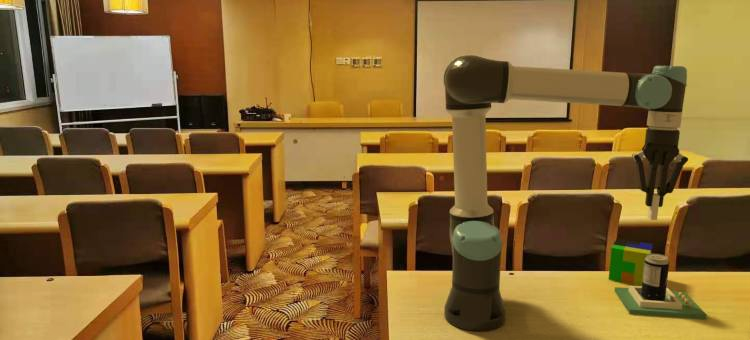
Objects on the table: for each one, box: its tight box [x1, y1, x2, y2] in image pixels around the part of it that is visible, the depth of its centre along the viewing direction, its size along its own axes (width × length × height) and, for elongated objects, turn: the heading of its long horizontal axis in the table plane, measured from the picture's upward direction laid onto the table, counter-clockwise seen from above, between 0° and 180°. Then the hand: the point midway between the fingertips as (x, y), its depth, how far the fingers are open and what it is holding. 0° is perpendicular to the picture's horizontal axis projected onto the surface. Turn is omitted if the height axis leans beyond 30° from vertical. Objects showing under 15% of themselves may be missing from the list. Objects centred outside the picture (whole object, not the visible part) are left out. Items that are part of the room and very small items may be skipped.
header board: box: [614, 285, 708, 320], centre depth 141 cm, size 18×14×3 cm
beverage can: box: [641, 253, 670, 301], centre depth 140 cm, size 6×6×12 cm
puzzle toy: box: [608, 238, 654, 286], centre depth 158 cm, size 10×10×10 cm
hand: (652, 218), depth 139 cm, fingers closed
